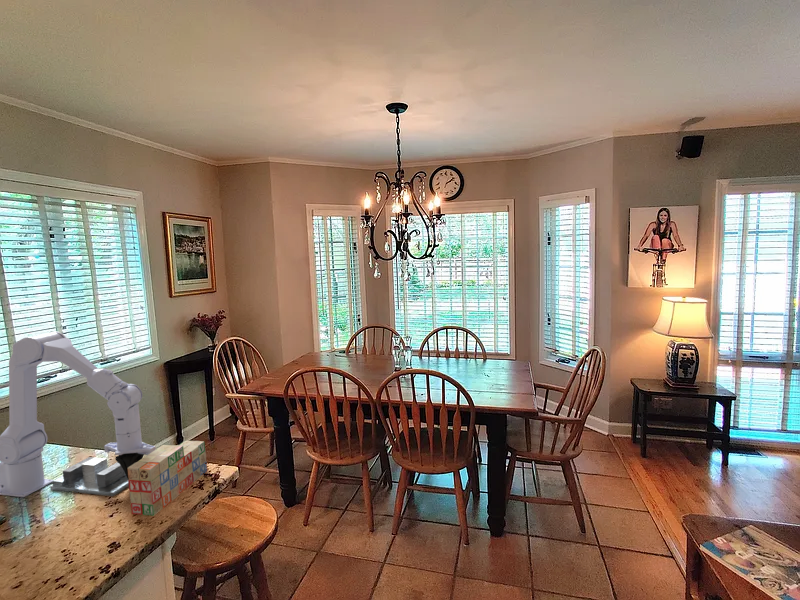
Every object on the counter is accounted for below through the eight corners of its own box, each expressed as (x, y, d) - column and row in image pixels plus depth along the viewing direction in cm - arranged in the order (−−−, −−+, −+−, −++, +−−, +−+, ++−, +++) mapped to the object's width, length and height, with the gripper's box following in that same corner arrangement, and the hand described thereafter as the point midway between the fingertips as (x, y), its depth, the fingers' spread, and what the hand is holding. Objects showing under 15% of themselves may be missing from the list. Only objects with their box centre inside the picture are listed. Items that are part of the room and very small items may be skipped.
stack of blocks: (188, 470, 122) (185, 430, 121) (207, 471, 121) (204, 431, 120) (131, 514, 101) (126, 467, 100) (153, 516, 100) (149, 468, 99)
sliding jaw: (97, 486, 111) (96, 474, 111) (122, 471, 119) (121, 459, 119) (105, 487, 111) (104, 474, 111) (130, 471, 119) (129, 460, 118)
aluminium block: (83, 481, 115) (81, 464, 114) (96, 473, 119) (94, 457, 118) (95, 482, 114) (93, 465, 113) (108, 474, 118) (106, 458, 117)
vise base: (50, 489, 113) (48, 472, 112) (87, 469, 123) (86, 453, 123) (113, 496, 109) (111, 479, 108) (145, 474, 120) (144, 458, 119)
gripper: (92, 435, 110) (97, 483, 111) (139, 438, 107) (144, 487, 109) (115, 424, 117) (119, 469, 118) (160, 427, 114) (163, 473, 116)
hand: (132, 477), depth 114 cm, fingers closed
